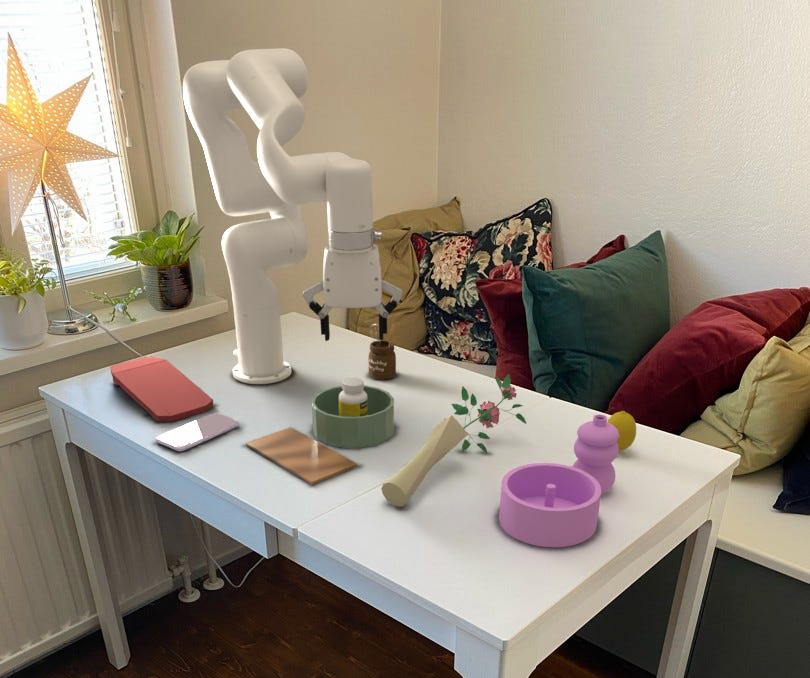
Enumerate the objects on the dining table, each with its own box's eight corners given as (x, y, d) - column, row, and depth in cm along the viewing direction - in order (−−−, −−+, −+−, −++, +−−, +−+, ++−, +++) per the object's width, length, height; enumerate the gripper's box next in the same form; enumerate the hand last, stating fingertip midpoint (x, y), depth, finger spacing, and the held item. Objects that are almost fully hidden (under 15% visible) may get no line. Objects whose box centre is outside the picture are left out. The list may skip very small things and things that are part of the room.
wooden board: (246, 445, 161) (245, 442, 161) (290, 430, 167) (290, 427, 167) (311, 485, 149) (311, 482, 148) (357, 466, 154) (357, 463, 154)
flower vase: (385, 534, 150) (483, 421, 170) (442, 538, 142) (538, 419, 162) (358, 477, 144) (463, 368, 164) (416, 479, 136) (519, 363, 156)
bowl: (297, 428, 167) (295, 399, 164) (359, 406, 176) (358, 378, 173) (347, 455, 158) (346, 425, 155) (410, 431, 167) (410, 402, 163)
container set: (563, 558, 130) (573, 480, 123) (480, 524, 138) (484, 448, 131) (642, 495, 146) (654, 422, 139) (563, 467, 154) (571, 397, 147)
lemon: (613, 442, 163) (618, 402, 159) (638, 451, 160) (645, 411, 155) (595, 451, 160) (601, 411, 155) (621, 461, 156) (627, 420, 152)
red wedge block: (217, 423, 177) (156, 370, 191) (216, 402, 174) (155, 349, 188) (162, 440, 171) (104, 384, 184) (161, 418, 168) (101, 363, 181)
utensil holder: (379, 368, 194) (378, 314, 187) (402, 374, 190) (402, 320, 184) (362, 376, 190) (361, 322, 183) (386, 382, 186) (385, 328, 180)
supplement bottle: (364, 437, 164) (363, 388, 159) (336, 434, 165) (334, 386, 160) (371, 425, 169) (370, 377, 163) (343, 422, 170) (342, 375, 164)
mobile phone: (241, 420, 168) (179, 448, 158) (242, 425, 168) (180, 453, 158) (215, 410, 171) (152, 436, 162) (215, 415, 172) (153, 441, 162)
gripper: (401, 233, 151) (402, 330, 160) (300, 234, 150) (307, 331, 160) (403, 244, 145) (403, 344, 154) (298, 245, 144) (304, 346, 153)
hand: (354, 337), depth 157 cm, fingers open, 9 cm apart
